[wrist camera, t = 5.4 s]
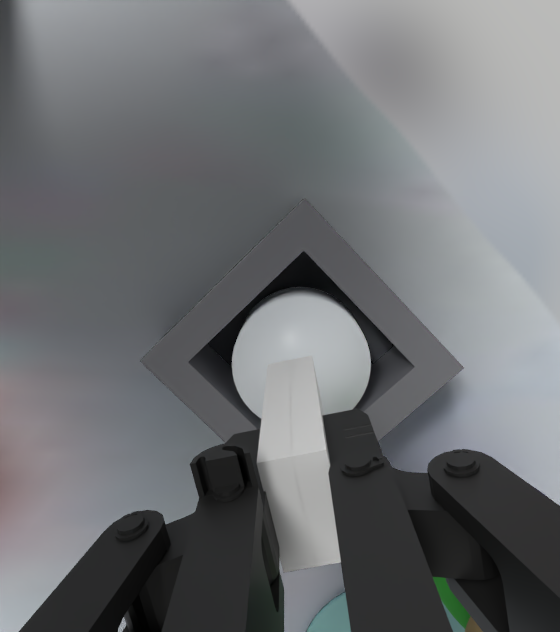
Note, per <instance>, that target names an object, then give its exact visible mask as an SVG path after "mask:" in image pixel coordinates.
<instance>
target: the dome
mask: <svg viewBox="0 0 560 632" xmlns="http://www.w3.org/2000/svg"><path fill="white" fill-rule="evenodd" d="M307 356H312V358H313V363H314V368H315V372H316V377H317V382H318V387H319V391H320V396H321V401H322V406H323V410H324V415H327V414H332V413H337V412H343V411H348V410H352V409H353V408H354V407H355V406H356V405H357V403H358V402H359V401H360V399H361V397H362V396H363V394H364V392H365V390H366V387H367V385H368V381H369V377H370V370H371V358H370V351H369V347H368V344H367V341H366V339H365V337H364V334H363V332H362V331H361V329H360V327H359V325H358V324H357V322H356V320H355V318H354V317H353V315H352V313H351V312H350V311H349V309H348V308H347V307H346V306H345V305H344V304H343V303H342V302H341V301H340V300H338V299H337V298H335V297H334V296H332V295H330V294H328V293H326V292H324V291H321V290H319V289H314V288H310V287H291V288H286V289H282V290H279V291H276V292H274V293H272V294H270V295H268V296H267V297H265V298H264V299H262V300H261V301H260V302H259V303H258V304H256V306H255V307H254V308H253V309H252V310H251V311H250V313H249V314H248V316H247V317H246V319H245V321H244V323H243V325H242V328H241V330H240V333H239V335H238V338H237V340H236V343H235V346H234V350H233V355H232V374H233V379H234V383H235V386H236V388H237V391H238V393H239V395H240V397H241V398H242V400H243V401H244V403H245V404H246V405H247V406H248V408H249V409H250V410H251V411H252V412H253V413H254V414H256V415H257V416H258V417H259V418H261V419H262V410H263V401H264V392H265V383H266V374H267V366H268V364H272V363H277V362H282V361H287V360H292V359H297V358H302V357H307Z"/></svg>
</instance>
